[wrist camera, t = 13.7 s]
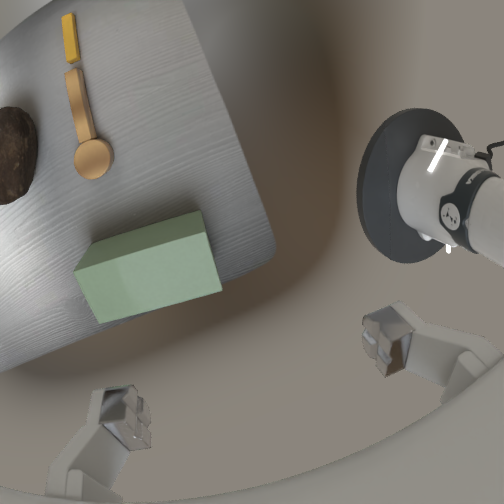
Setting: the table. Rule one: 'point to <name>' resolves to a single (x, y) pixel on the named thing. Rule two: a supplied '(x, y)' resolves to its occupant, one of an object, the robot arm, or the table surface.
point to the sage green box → (148, 268)
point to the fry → (70, 38)
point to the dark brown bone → (16, 153)
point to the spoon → (86, 131)
